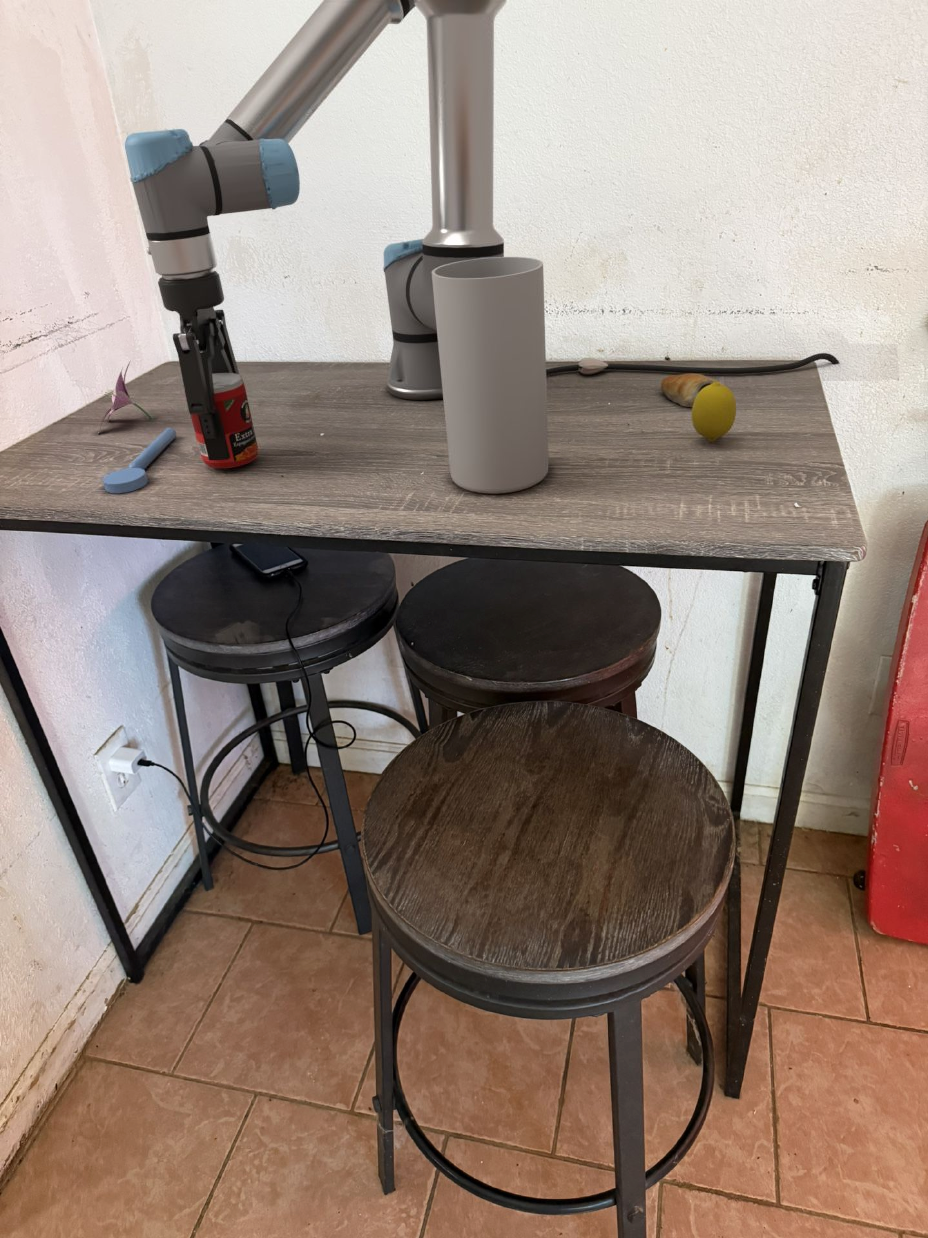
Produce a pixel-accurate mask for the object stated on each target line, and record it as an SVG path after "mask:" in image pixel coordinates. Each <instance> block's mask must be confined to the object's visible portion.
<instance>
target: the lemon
mask: <svg viewBox="0 0 928 1238" xmlns="http://www.w3.org/2000/svg"><path fill="white" fill-rule="evenodd" d="M736 415H737V403H736V398H735V395H734V393H733V392H732V390H731V389H730V388H729V387H727V386H726V385H724V384H721V383H720V381H717V382H713V383H712V384H711V385H708V386H706V387H704V388H703V389H702V390H701V391H700V392H699V393H698V394H697V396H696V398H695V400H694V403H693V407H691V421H692V426H693V428H694V430H695V431H696V432H697V433H698V434H699V435H700V436H701V437H703V438H705V439H706V440H707V441H708V442H709V443H712V442H713V443H714V442H715V441H716V440H717V439H718V438H722V437H724V436H725V435H727V433H729V431H730V430H731V429H732V428H733V426H734V422H735V420H736Z"/></svg>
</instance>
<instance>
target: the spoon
mask: <svg viewBox="0 0 928 1238" xmlns="http://www.w3.org/2000/svg"><path fill="white" fill-rule="evenodd" d="M176 437H177V431H176V429H174V428H173V427H167V428H165V429H164V430H163V431H162V432H161V433H160V434H159V435H157V437H156V438H154V440H153V441H152V442H151V443H150V444H149V445H148V446H146V448H145V449H144V450H142V452H140V454H139V455H137V456H136V458H135V459H134V460H132V461H131V462H130V463H129V465H128V467H127V468H121V469H118V470H114V471H111V472H109V473H107V474H106V475H105V476H103V478H102V483H103V487H104V490H105V491H106V492H107V493H110V494H125V493H131V492H134V491H136V490H139V489H141V488H143V487H145V486H146V485H147V484H148V483H149V480H148V477H147V473H146V470H145V469H146V468H147V467H148V466H149V465H150V464H152V462H153V461H154V460H155V459H156V458H157V457H158V456H159V455H160V454H161V453H162V452H163V451H164V450H165V449H166V448H167V447H168V446H169V444H170V443H172V441H174V439H175V438H176Z"/></svg>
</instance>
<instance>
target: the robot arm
mask: <svg viewBox="0 0 928 1238" xmlns="http://www.w3.org/2000/svg"><path fill="white" fill-rule="evenodd" d="M506 4H507V0H322V2H321V3H320V4H319V5H318V6H317V8H316V9H315V10H314V11H313V13H312V14H311V15H310V16H309V18H307V20H306V21H305V22H304V24H303V25H302V26H301V27H300V28H299V30H298V31H297V32H296V33H295V34H294V36H293V37H292V38H291V40H290V41H289V42H288V43H287V44H286V45H285V47H284V48H283V49H282V51H281V52H280V53H278V55H277V56H276V58H275V59H274V60H273V61H272V62H271V64H269V66H268V67H267V68H266V69H265V71H264V72H263V73H262V75H261V76H260V77H259V78H258V80H256V82H255V83H254V84H253V85H252V87H251V88H250V89H249V90H248V92H247V93H246V94H245V95H244V96H243V98H241V100H240V101H239V102H238V104H237V105H236V106H235V107H234V108H233V110H232V111H231V112H230V113H229V114H228V116H227V117H226V119H225V120H224V121H223V122H222V123H221V125H219V127H218V128H217V129H216V130H215V132H214V133H213V134H212V135H211V136H210V137H209V138H208V139H206V140H204V141H202V142H200V143H199V144H198V145H193V141H191V138H190V135H189V133H188V131H187V130H185V129H184V128H174V129H164V130H153V131H141V132H133V133H130V134H129V135H128V136H127V137H126V138H125V140H124V150H125V154H126V159H127V163H128V168H129V173H130V182H131V183H132V187H133V191H134V195H135V198H136V199H135V200H136V203H137V206H138V210H139V214H140V217H141V221H142V224H143V229H144V233H145V236H146V240H147V243H148V247H146V253H147V254H148V255H150V256H151V259H152V263H153V267H154V272H155V273H156V274H157V275H159V276H161V277H160V278H159V279H158V281H157V284H158V288H159V292H160V297H161V300H162V304H163V307H164V308H165V309H166V311H169V312H175V313H177V314H178V316H179V331H180V332H176V333H173V334H172V341H173V345H174V347H175V350H176V352H177V357H178V363H179V368H180V373H181V379H182V384H183V390H184V389H185V391H184V395H185V394H186V395H185V399H187V400H186V405H187V409H188V413H189V415H190V416H191V415H196V414H198V418H199V422H200V426H201V430H202V434H203V438H204V442H205V446H206V450H207V454H208V458H209V460H227V459H229V458H230V454H229V450H228V446H227V441H226V437H225V433H224V429H223V424H222V420H221V416H220V412H219V410H217V411H216V408H215V397H214V387H213V377H212V374H214V373H235V374H239V375H240V372H239V368H238V365H237V361H236V357H235V354H234V353H235V352H234V350H233V346H232V342H231V338H230V334H229V331H228V328H227V322H226V316H225V312H224V309H215V307H217V306H220V305H221V304H223V302H224V301H225V295H224V291H223V285H222V281H221V277H220V273H218V272H217V270H215V269H216V268H217V266H218V261H217V256H216V252H215V247H214V242H213V238H212V235H211V231H210V227H209V221H208V217H211V216H213V217H215V216H220V215H225V214H226V215H227V214H235V213H236V214H237V213H245V212H252V211H261V210H270V209H271V210H272V211H273V210H276V209H277V208H281V207H282V208H283V207H287V206H292V205H294V204H295V203H296V202H297V201H298V199H299V196H300V192H301V191H300V190H301V181H300V173H299V172H300V171H299V166H298V163H297V159H296V156H295V153H294V151H293V149H292V147H291V146H290V142H291V141H292V140H293V139H294V138H295V136H296V135H297V134H298V133H299V132H300V130H301V129H302V128H303V127H304V125H305V124H306V123H307V122H308V121H309V120H310V118H311V117H312V116H313V115H314V114H315V112H316V111H317V110H318V109H319V107H321V105H322V104H323V103H324V102H325V100H326V99H327V98H329V95H330V94H331V93H332V92H333V91H334V90H335V88H336V87H337V86H338V85H339V83H340V82H341V81H342V80H343V79H344V78H345V76H346V75H347V74H348V73H349V72H350V71H351V70H352V68H353V67H354V66H355V64H356V63H357V62H358V61H359V60H360V59H361V57H362V56H363V55H364V54H365V52H366V51H367V50H368V49H369V48H370V47H371V45H372V44H373V43H374V42H375V41H376V39H377V38H378V37H379V36H380V34H381V33H382V32H383V31H384V30H385V29H386V27H387V26H388V25H400V24H401V23H402V22H403V20H404V19H405V18H406V16H407V15H408V14H409V13H410V12H411V11H412V10H413V9H415V8H417V10H418V11H419V13H421V15H422V16H423V17H424V19H425V21H426V22H425V23H426V51H427V52H426V53H427V54H426V55H427V86H428V87H427V89H428V90H427V91H428V118H429V119H428V121H429V122H428V123H429V153H430V156H429V157H430V185H431V186H430V188H431V219H432V220H431V221H432V225H431V229H430V231H429V232H428V233H427V234H426V235H425V237H424V238H418V239H413V240H407V241H406V240H405V241H401V242H394V243H391V244H388V245H387V246H386V247H385V248H384V250H383V267H382V268H383V273H384V278H385V279H384V280H385V287H386V292H387V293H386V294H387V303H388V309H389V319H390V326H391V332H392V333H391V334H392V350H391V355H390V361H389V365H388V368H387V369H388V371H387V376H386V377H387V379H386V383H387V391H388V393H389V394H391V395H392V396H394V397H395V398H399V399H405V400H412V401H413V400H415V401H425V400H426V401H427V400H438V399H439V400H440V399H443V389H442V379H441V368H440V357H439V346H438V336H437V325H436V314H435V303H434V293H433V282H432V271H433V270H434V269H435V268H437V267H440V266H443V265H446V264H450V263H454V262H459V261H465V260H472V259H480V258H492V257H505V241H504V238H503V237H502V235H501V234H500V233H499V232H498V231H497V230H496V229H495V226H494V154H495V153H494V152H495V151H494V148H495V147H494V146H495V145H494V144H495V143H494V140H495V139H494V138H495V137H494V136H495V135H494V134H495V133H494V128H495V125H494V122H495V121H494V120H495V117H494V115H495V113H494V111H495V109H494V108H495V106H494V105H495V101H494V100H495V20H496V19H495V18H496V17H497V16H498V14H499V13H500V11H502V9H503V8H504V6H506ZM820 360H825V361H828V362H830V363H831V364H832V365H839V364H840V361H839V359H838V358H837V357H835V356H834V355H833V354H830V353H827V352H820V353H816V354H812V355H810V356H807V357H806V358H803V359H801V360H797V361H795V362H790V363H786V364H785V363H784V364H776V365H766V366H765V365H764V366H749V367H746V366H745V367H701V366H676V365H661V364H660V365H659V364H636V363H635V364H634V363H633V364H631V363H607V364H608V366H607V367H606V368H604V369H603V370H602V371H635V372H636V371H638V372H661V373H677V374H688V373H689V374H694V373H695V374H702V375H742V374H743V375H750V374H751V375H752V374H765V373H766V374H767V373H776V372H777V373H778V372H786V371H792V370H796V369H799V368H802V367H805V366H807V365H809V364H811V363H814V362H816V361H820ZM579 368H580V369H582V368H583V367H581V366H579V364H573V365H571V364H570V365H562V366H561V365H560V366H556V367H555V366H554V367H552V368H546V376H550V375H554V374H560V373H568V372H580V371H579ZM200 403H201V404H200Z"/></svg>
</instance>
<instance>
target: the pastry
mask: <svg viewBox="0 0 928 1238" xmlns="http://www.w3.org/2000/svg"><path fill="white" fill-rule="evenodd" d="M713 382H718V381H717V380H716V379H715V378H714V377H712V378H709V377H707V376H705V375H704V374H697V373H682V374H676V375H672V374H671V375H668V376H666V377H664V378H663V379H662V380H661V382H660V385H659V386H660V387H659V388H660V389H661V390H662V392H663V394H664V395H665V397H667V399H668V400H671V401H672V402H673V403H676V404H679V405H680V406H682V407H687V408H693V403H694V400H695V398H696V396H697V394H698V393H699V392H700V391H701V390H702V389H703V388H704V387H706V386H708V385H711V384H712V383H713Z"/></svg>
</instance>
